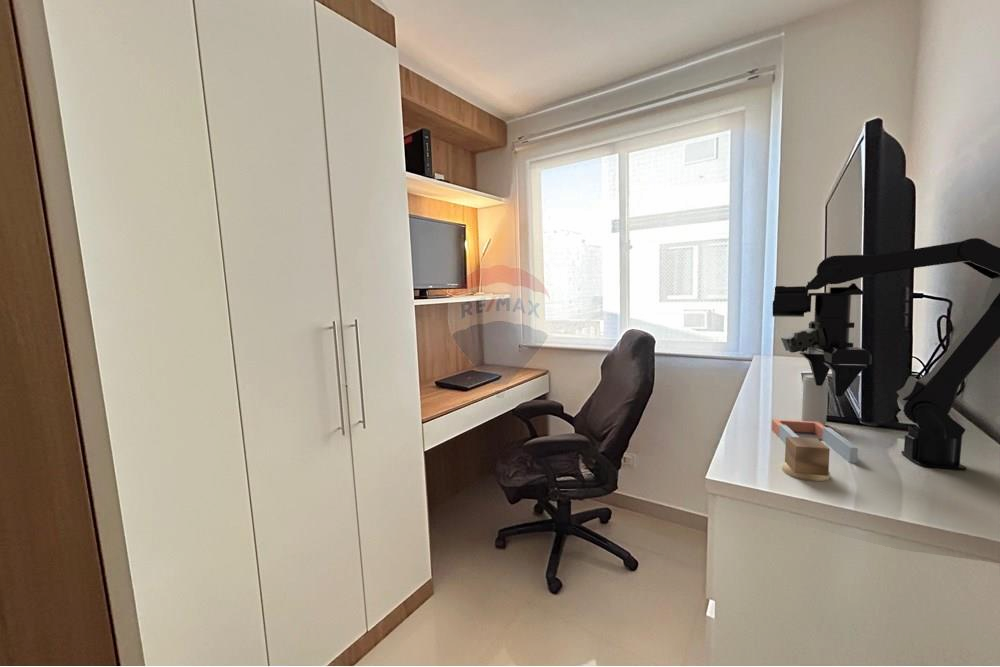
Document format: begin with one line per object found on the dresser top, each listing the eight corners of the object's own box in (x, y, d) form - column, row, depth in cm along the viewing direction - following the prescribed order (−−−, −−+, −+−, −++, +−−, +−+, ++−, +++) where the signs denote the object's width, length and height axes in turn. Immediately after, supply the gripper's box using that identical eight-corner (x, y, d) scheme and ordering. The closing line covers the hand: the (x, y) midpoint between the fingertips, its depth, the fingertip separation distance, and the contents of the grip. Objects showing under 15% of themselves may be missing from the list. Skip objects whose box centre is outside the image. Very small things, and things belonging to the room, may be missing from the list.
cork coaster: (819, 466, 76) (820, 462, 76) (837, 483, 69) (837, 479, 69) (776, 462, 78) (777, 458, 78) (789, 478, 72) (789, 474, 72)
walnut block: (815, 464, 75) (817, 438, 75) (828, 475, 71) (829, 448, 70) (784, 461, 77) (785, 436, 76) (794, 472, 72) (796, 446, 72)
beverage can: (830, 427, 96) (832, 378, 95) (807, 426, 97) (809, 378, 96) (818, 421, 101) (821, 374, 100) (797, 420, 102) (799, 374, 101)
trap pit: (818, 432, 93) (818, 421, 93) (828, 440, 88) (829, 429, 88) (771, 429, 96) (771, 419, 96) (779, 437, 91) (779, 426, 91)
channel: (828, 440, 88) (829, 427, 88) (857, 463, 77) (858, 448, 77) (779, 437, 91) (779, 424, 91) (799, 458, 80) (799, 443, 80)
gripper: (772, 314, 95) (770, 379, 96) (803, 321, 77) (800, 400, 79) (829, 314, 91) (826, 381, 93) (875, 320, 73) (870, 403, 75)
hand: (828, 390), depth 85 cm, fingers open, 9 cm apart
